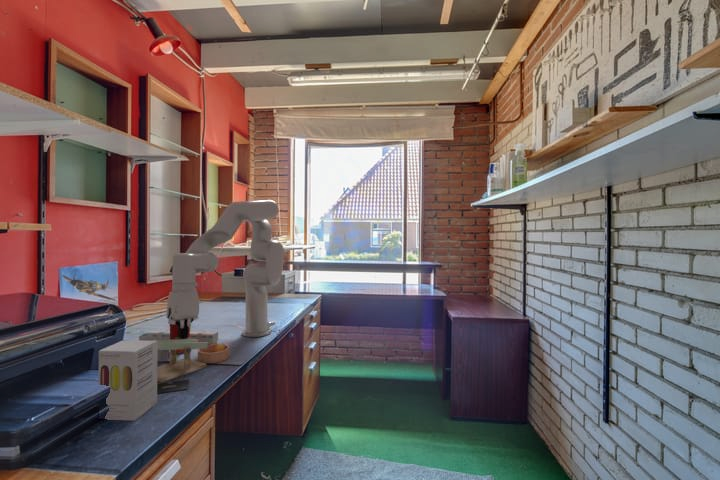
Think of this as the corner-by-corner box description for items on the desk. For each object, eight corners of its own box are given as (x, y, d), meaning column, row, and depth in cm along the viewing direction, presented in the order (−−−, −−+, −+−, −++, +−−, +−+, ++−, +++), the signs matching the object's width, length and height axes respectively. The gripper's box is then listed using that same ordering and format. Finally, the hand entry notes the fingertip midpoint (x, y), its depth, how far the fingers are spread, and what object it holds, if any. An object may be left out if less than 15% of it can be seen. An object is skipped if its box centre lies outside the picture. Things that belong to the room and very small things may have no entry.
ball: (222, 343, 131) (213, 343, 128) (228, 345, 129) (219, 345, 126) (220, 353, 131) (211, 353, 128) (226, 355, 129) (217, 355, 126)
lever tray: (183, 351, 129) (186, 335, 130) (207, 359, 121) (211, 342, 122) (134, 353, 114) (138, 335, 115) (157, 362, 106) (162, 343, 107)
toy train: (145, 340, 147) (145, 329, 146) (218, 342, 145) (218, 330, 145) (137, 344, 142) (137, 332, 142) (213, 346, 140) (213, 334, 140)
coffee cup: (183, 354, 128) (184, 314, 129) (162, 353, 129) (163, 313, 130) (196, 348, 137) (197, 310, 137) (176, 347, 138) (177, 309, 138)
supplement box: (96, 420, 84) (96, 350, 83) (122, 402, 93) (122, 339, 93) (135, 421, 83) (136, 351, 83) (158, 402, 93) (158, 339, 92)
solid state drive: (151, 386, 103) (151, 384, 103) (189, 381, 107) (189, 379, 107) (147, 397, 97) (147, 394, 97) (187, 391, 100) (187, 388, 100)
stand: (187, 360, 124) (187, 337, 124) (206, 366, 118) (206, 343, 118) (142, 374, 111) (142, 349, 111) (161, 382, 105) (161, 356, 105)
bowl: (217, 351, 133) (217, 342, 133) (235, 356, 128) (235, 347, 128) (191, 359, 125) (191, 349, 125) (209, 365, 119) (209, 355, 119)
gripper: (197, 284, 134) (196, 331, 135) (157, 288, 122) (156, 341, 122) (209, 285, 130) (208, 334, 131) (169, 290, 118) (168, 344, 118)
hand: (183, 337), depth 126 cm, fingers closed
